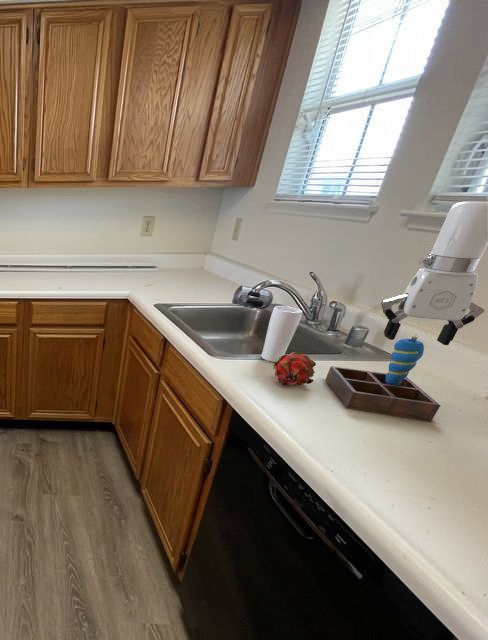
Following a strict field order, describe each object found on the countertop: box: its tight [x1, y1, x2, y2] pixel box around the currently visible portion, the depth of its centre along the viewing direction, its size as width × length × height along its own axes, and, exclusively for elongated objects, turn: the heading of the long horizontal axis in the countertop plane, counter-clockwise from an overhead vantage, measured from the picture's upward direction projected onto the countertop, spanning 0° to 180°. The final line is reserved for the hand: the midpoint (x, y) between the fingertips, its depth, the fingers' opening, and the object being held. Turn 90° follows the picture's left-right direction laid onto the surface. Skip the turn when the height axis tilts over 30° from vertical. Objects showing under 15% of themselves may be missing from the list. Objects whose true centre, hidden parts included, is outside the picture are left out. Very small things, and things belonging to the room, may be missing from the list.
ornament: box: [386, 333, 425, 386], centre depth 98 cm, size 5×5×15 cm
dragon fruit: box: [272, 351, 317, 387], centre depth 105 cm, size 8×8×12 cm
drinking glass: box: [260, 305, 303, 363], centre depth 117 cm, size 7×7×15 cm
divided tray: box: [324, 365, 441, 422], centre depth 99 cm, size 15×15×4 cm
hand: (415, 340), depth 95 cm, fingers open, 9 cm apart
